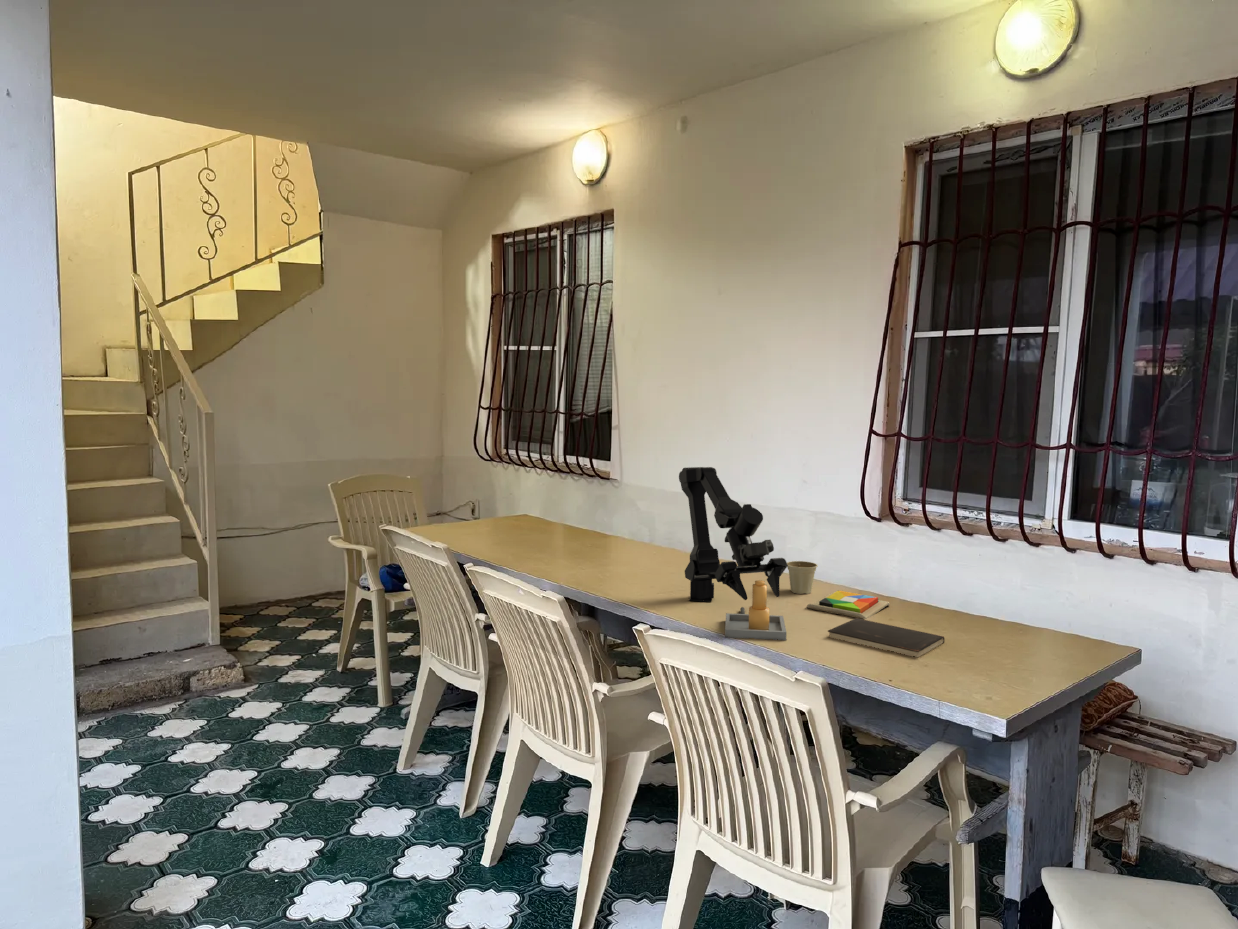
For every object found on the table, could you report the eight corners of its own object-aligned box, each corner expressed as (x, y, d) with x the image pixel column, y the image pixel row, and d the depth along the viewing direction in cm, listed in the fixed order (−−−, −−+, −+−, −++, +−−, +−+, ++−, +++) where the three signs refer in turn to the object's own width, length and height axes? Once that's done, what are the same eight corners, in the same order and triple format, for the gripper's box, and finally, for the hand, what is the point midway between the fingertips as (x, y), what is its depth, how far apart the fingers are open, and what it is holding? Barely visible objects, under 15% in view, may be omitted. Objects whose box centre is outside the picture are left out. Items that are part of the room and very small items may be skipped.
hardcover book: (917, 660, 188) (918, 651, 187) (827, 639, 203) (827, 630, 203) (944, 645, 199) (944, 635, 199) (857, 626, 215) (857, 617, 215)
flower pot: (817, 596, 244) (818, 568, 243) (785, 594, 245) (786, 566, 245) (816, 589, 253) (817, 561, 252) (785, 587, 255) (786, 560, 254)
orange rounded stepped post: (745, 630, 207) (746, 582, 206) (753, 625, 211) (754, 578, 210) (764, 633, 204) (765, 584, 203) (772, 628, 209) (773, 580, 207)
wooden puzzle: (805, 610, 230) (805, 598, 230) (834, 597, 245) (834, 586, 244) (864, 622, 219) (864, 609, 219) (891, 607, 233) (891, 595, 233)
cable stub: (740, 620, 217) (740, 616, 217) (740, 610, 227) (740, 606, 227) (745, 621, 217) (745, 616, 217) (744, 610, 227) (744, 606, 227)
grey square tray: (725, 637, 203) (725, 629, 202) (725, 620, 217) (725, 613, 217) (786, 640, 200) (786, 632, 200) (782, 623, 215) (783, 615, 215)
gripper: (720, 531, 206) (740, 583, 197) (785, 527, 212) (807, 578, 203) (706, 555, 214) (725, 607, 205) (768, 551, 220) (789, 601, 211)
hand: (762, 598), depth 206 cm, fingers open, 9 cm apart
